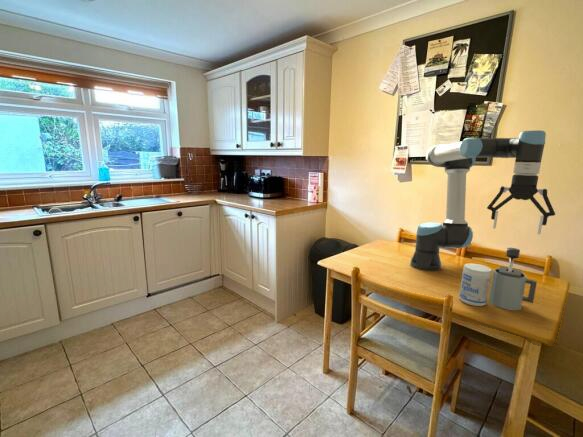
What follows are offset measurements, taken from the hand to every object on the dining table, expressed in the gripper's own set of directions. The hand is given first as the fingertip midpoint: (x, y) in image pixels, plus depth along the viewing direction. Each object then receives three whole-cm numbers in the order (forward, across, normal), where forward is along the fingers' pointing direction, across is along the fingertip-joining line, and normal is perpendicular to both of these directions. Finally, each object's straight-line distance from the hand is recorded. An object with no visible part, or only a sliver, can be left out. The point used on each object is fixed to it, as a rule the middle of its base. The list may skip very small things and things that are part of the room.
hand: (515, 230), depth 113 cm
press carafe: (+30, +2, -1) cm, 30 cm away
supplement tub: (+30, -10, -6) cm, 32 cm away
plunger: (+28, 0, -1) cm, 28 cm away
